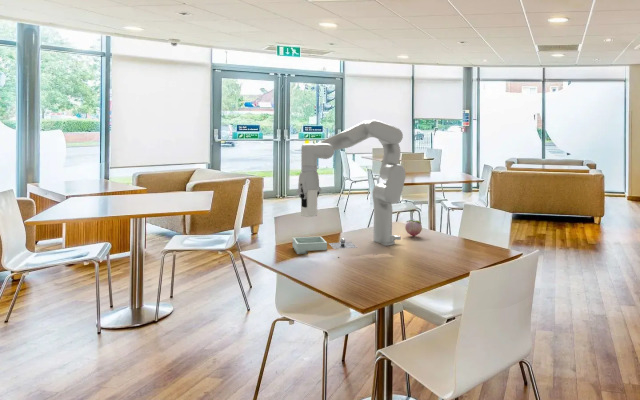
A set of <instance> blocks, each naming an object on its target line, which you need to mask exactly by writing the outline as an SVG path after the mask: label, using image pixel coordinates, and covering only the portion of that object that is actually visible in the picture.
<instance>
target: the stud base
mask: <svg viewBox="0 0 640 400" xmlns="http://www.w3.org/2000/svg"><path fill="white" fill-rule="evenodd" d="M328 245H330V246H331V248H332V249H334V250H336V249H354V248H355V249H356V248H357V249H358V246H356V244H354V243H353V242H351V241H349V242H346V239H345V238H344V237H343V238H340V242H330V243H329V242H328Z"/></svg>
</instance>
